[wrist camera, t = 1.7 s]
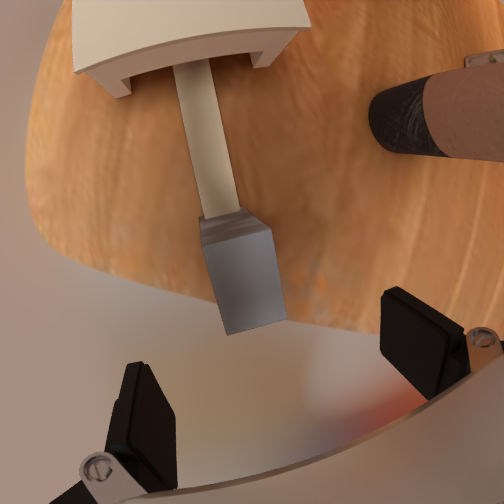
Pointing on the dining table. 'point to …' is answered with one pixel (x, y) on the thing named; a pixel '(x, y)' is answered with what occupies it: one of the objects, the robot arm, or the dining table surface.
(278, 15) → the white open box
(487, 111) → the travel mug
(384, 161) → the dining table surface
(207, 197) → the grey block on stick
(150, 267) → the dining table surface
